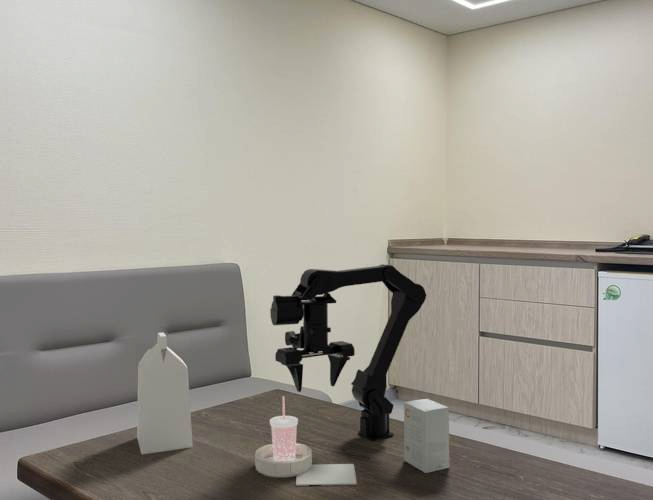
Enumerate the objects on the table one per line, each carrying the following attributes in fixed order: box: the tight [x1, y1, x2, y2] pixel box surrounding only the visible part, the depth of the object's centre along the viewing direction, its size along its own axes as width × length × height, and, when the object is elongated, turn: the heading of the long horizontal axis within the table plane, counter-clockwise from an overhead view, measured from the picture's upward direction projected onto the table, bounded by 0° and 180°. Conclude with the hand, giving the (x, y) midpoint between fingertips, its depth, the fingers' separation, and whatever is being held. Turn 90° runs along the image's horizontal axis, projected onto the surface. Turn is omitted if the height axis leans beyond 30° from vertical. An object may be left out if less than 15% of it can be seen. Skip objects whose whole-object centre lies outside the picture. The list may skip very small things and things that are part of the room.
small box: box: [403, 398, 450, 474], centre depth 130 cm, size 8×6×13 cm
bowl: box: [254, 442, 313, 479], centre depth 130 cm, size 12×12×3 cm
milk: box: [136, 332, 193, 455], centre depth 145 cm, size 12×12×26 cm
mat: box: [295, 463, 358, 487], centre depth 125 cm, size 12×10×1 cm
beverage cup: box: [269, 395, 299, 461], centre depth 130 cm, size 6×6×14 cm
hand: (316, 388), depth 143 cm, fingers open, 9 cm apart
